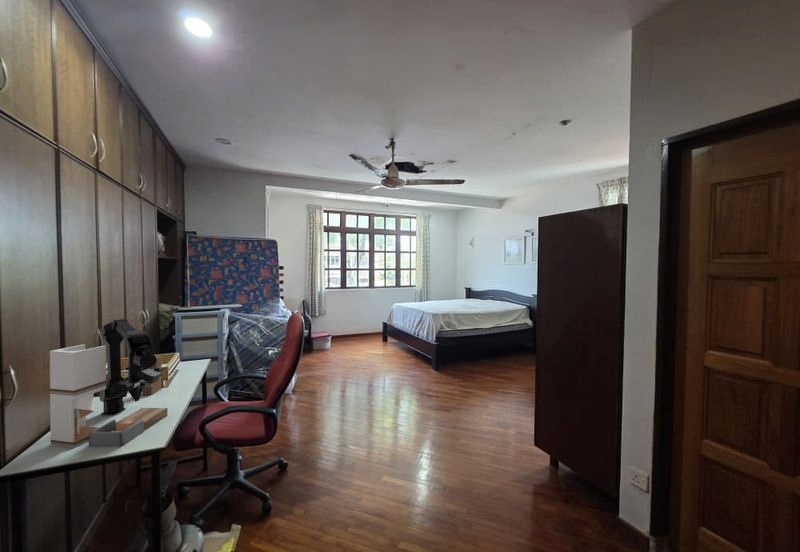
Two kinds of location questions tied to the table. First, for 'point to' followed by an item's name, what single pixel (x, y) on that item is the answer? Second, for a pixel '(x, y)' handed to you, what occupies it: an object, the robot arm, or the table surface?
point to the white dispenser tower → (74, 392)
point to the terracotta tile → (123, 425)
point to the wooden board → (147, 416)
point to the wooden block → (154, 386)
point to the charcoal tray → (114, 435)
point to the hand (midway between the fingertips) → (137, 401)
